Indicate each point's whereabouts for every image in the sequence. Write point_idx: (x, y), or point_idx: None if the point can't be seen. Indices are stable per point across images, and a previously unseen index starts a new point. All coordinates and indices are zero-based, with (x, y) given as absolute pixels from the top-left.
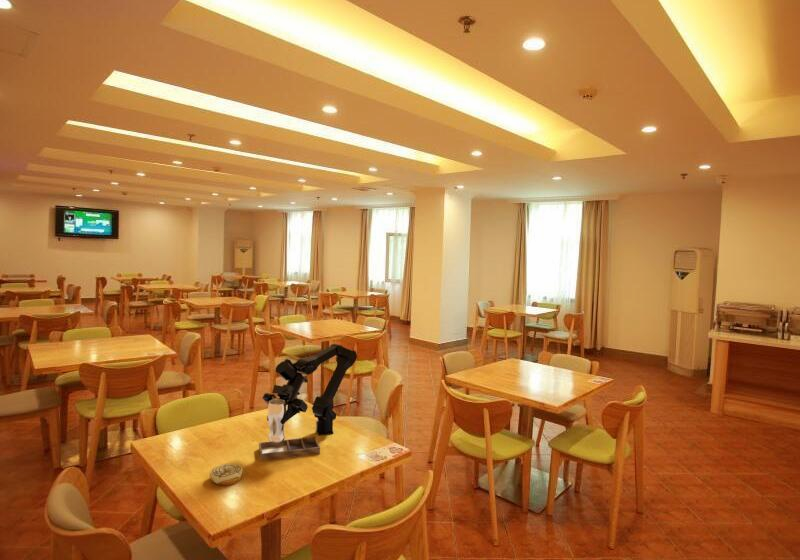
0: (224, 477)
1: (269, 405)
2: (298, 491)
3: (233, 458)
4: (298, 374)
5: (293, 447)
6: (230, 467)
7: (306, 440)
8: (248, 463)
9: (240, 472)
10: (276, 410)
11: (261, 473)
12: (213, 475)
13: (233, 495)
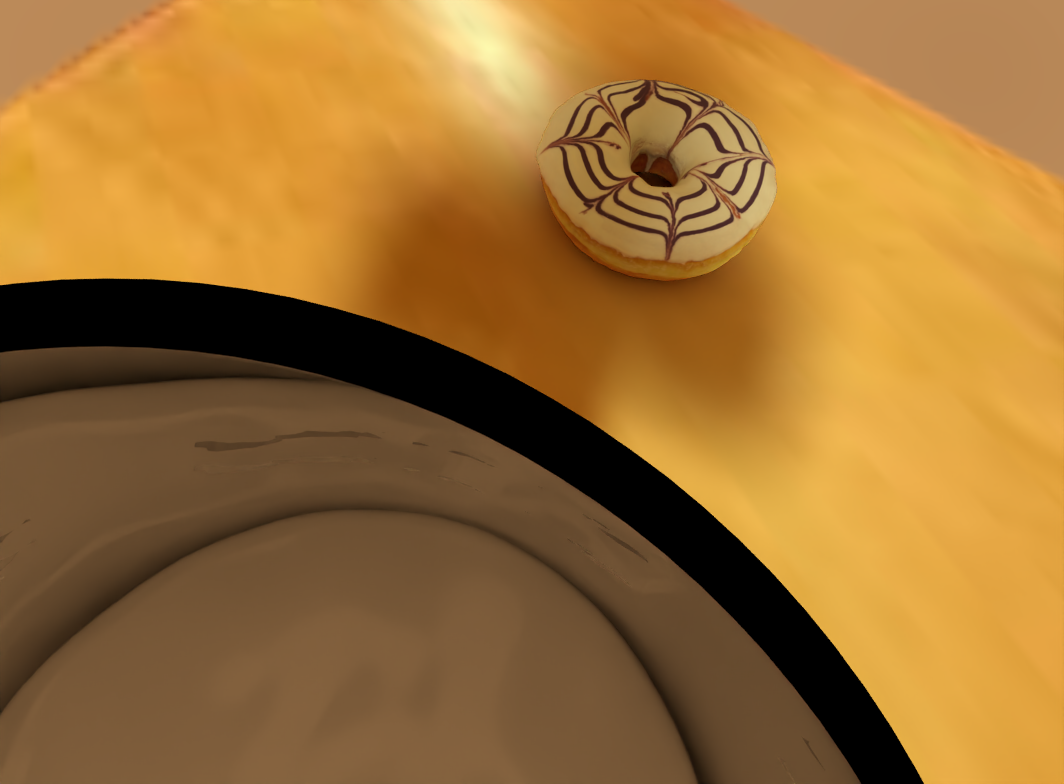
0: (614, 82)
1: (701, 521)
2: (73, 127)
3: (817, 505)
4: None
5: None
6: (659, 187)
7: None
8: (628, 440)
9: (549, 160)
10: (104, 448)
11: (434, 302)
12: (703, 93)
13: (486, 54)
